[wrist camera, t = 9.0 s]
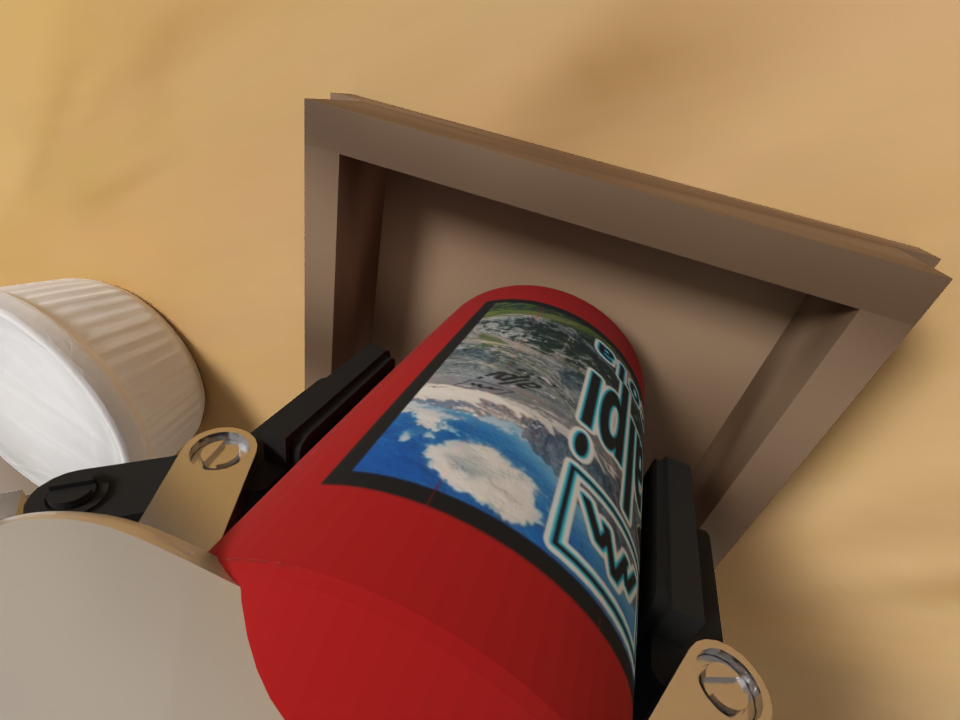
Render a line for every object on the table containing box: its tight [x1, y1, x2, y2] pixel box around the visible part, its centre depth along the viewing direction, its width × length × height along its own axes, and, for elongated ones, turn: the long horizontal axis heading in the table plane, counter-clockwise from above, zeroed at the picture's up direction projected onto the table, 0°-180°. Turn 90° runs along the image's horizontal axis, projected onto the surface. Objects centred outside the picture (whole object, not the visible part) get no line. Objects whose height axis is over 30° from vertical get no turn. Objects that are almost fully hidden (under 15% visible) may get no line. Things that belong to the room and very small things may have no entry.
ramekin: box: [0, 278, 205, 487], centre depth 22 cm, size 11×11×5 cm
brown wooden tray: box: [305, 93, 952, 569], centre depth 18 cm, size 28×16×4 cm, turn 168°
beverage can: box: [208, 285, 645, 720], centre depth 10 cm, size 7×7×12 cm
